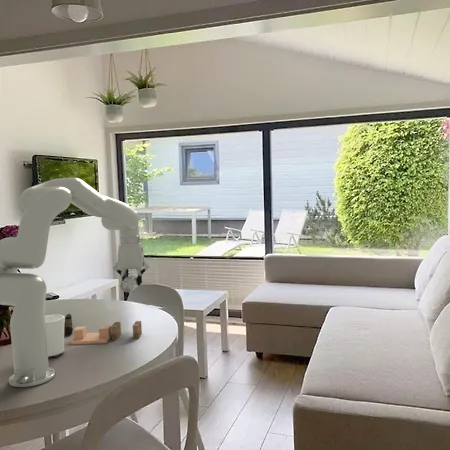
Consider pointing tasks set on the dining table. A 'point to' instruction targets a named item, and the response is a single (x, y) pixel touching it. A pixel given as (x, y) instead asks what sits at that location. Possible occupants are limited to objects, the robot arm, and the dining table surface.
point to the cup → (55, 334)
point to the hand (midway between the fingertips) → (132, 285)
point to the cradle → (91, 335)
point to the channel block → (117, 330)
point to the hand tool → (68, 325)
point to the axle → (129, 283)
